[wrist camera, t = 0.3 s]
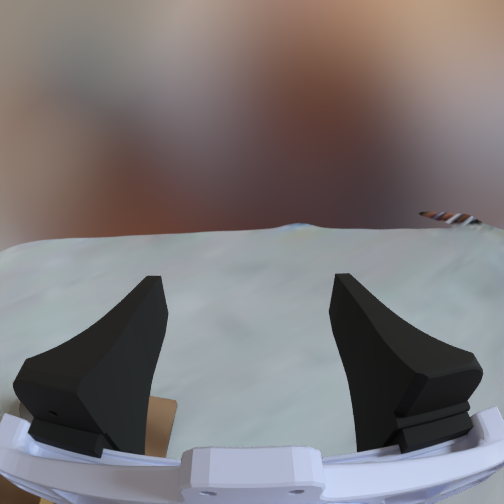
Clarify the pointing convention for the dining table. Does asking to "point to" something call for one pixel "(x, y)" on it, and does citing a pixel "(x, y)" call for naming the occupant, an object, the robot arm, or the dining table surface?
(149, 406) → the peg board
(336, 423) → the dining table surface
